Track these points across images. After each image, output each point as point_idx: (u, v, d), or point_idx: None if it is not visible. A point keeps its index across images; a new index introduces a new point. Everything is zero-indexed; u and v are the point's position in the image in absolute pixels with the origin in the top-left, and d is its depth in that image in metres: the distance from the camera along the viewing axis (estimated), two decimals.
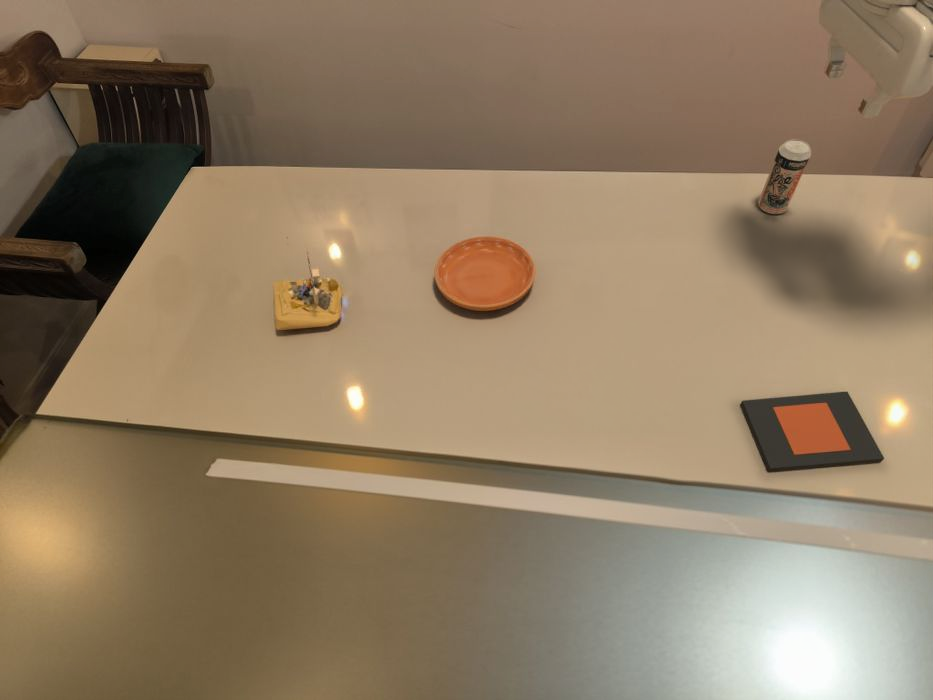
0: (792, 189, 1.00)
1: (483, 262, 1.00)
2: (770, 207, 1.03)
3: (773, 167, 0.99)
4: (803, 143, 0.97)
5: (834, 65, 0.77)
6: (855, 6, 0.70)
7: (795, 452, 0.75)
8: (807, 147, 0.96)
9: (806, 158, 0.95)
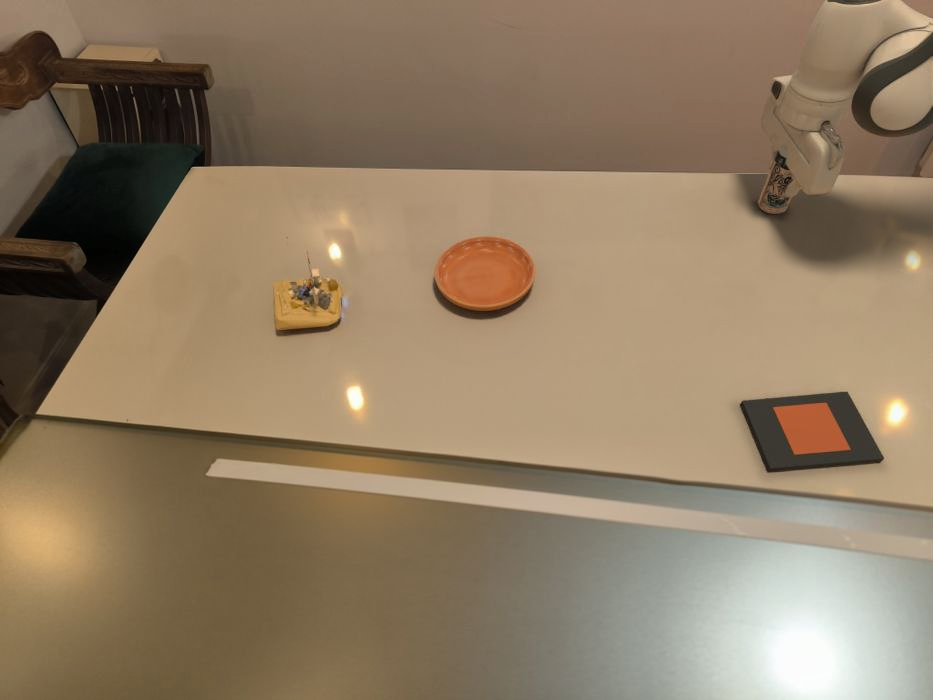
0: None
1: (483, 262, 1.00)
2: (769, 207, 1.03)
3: (773, 167, 0.99)
4: None
5: None
6: (783, 122, 0.96)
7: (795, 452, 0.75)
8: None
9: None
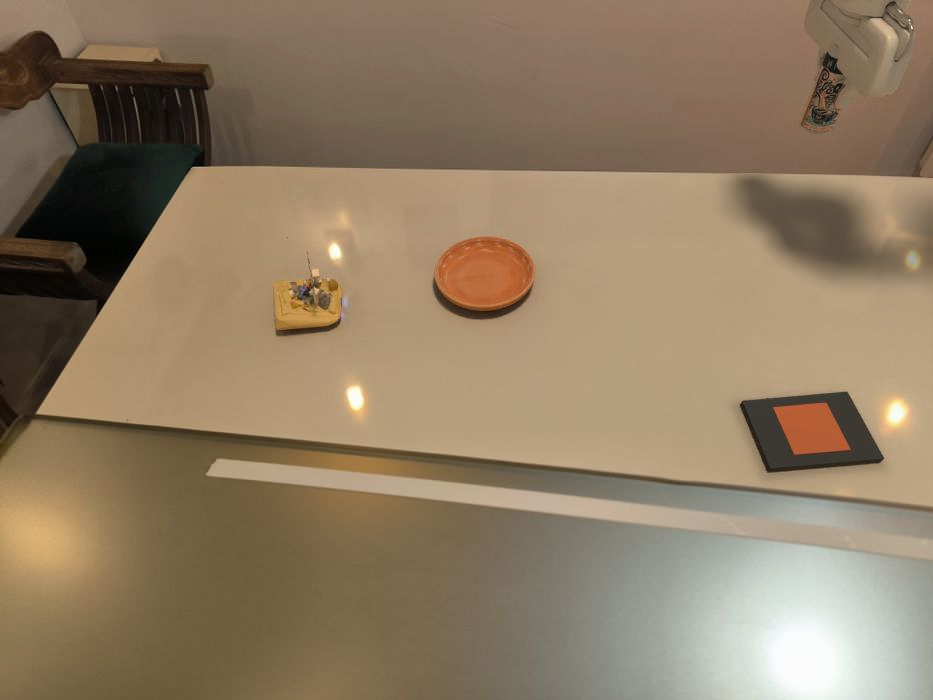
0: None
1: (483, 262, 1.00)
2: (814, 125, 0.87)
3: (820, 74, 0.83)
4: None
5: None
6: (834, 17, 0.80)
7: (795, 452, 0.75)
8: None
9: None
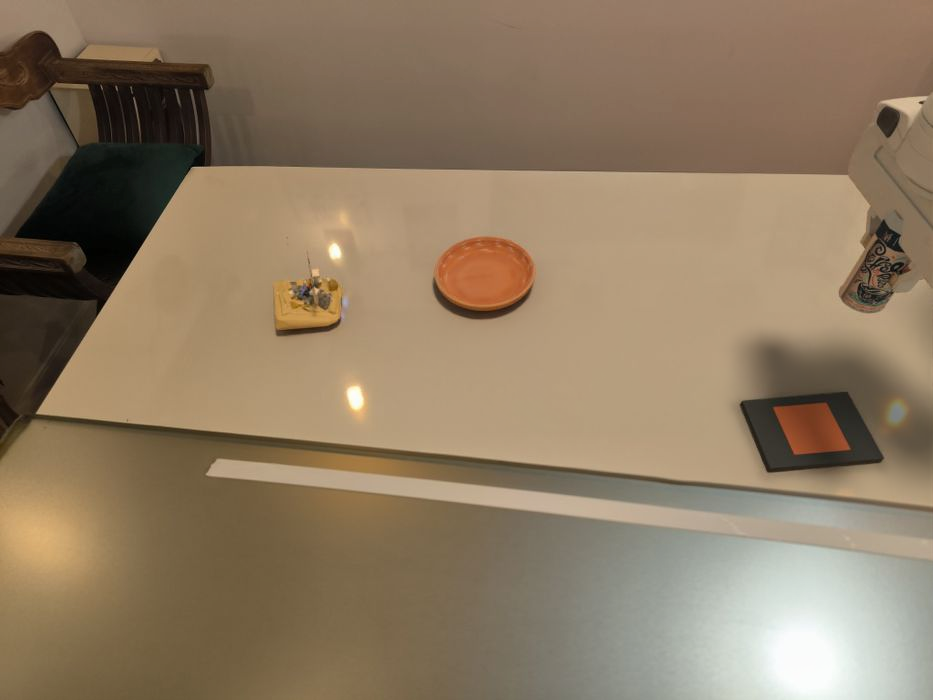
0: None
1: (483, 262, 1.00)
2: (860, 303, 0.65)
3: (872, 244, 0.61)
4: None
5: None
6: (895, 175, 0.58)
7: (795, 452, 0.75)
8: None
9: None
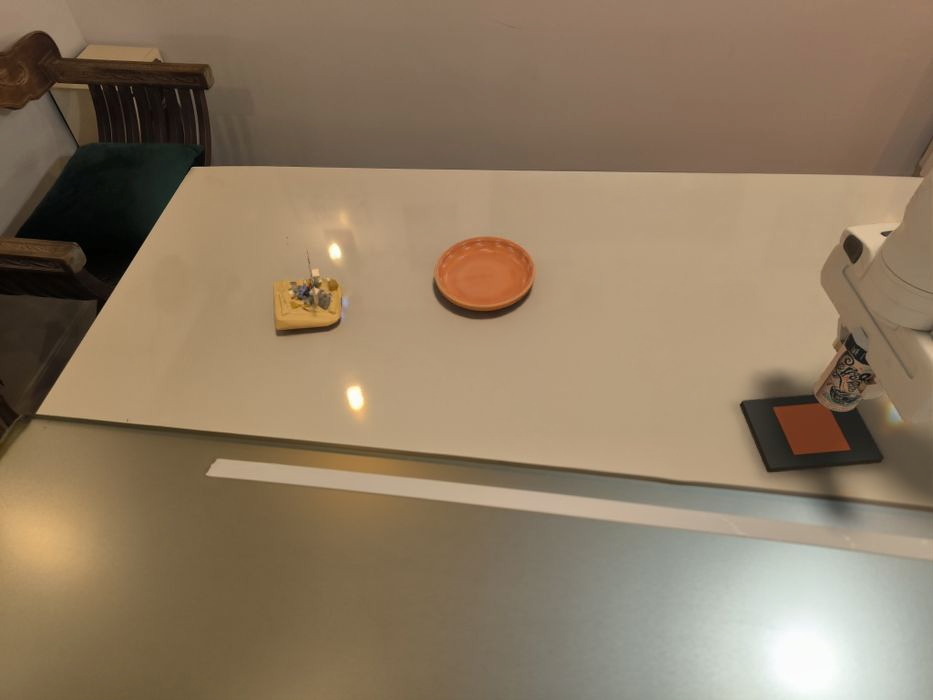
0: None
1: (483, 262, 1.00)
2: (833, 403, 0.69)
3: (842, 354, 0.66)
4: None
5: None
6: None
7: (795, 452, 0.75)
8: None
9: None
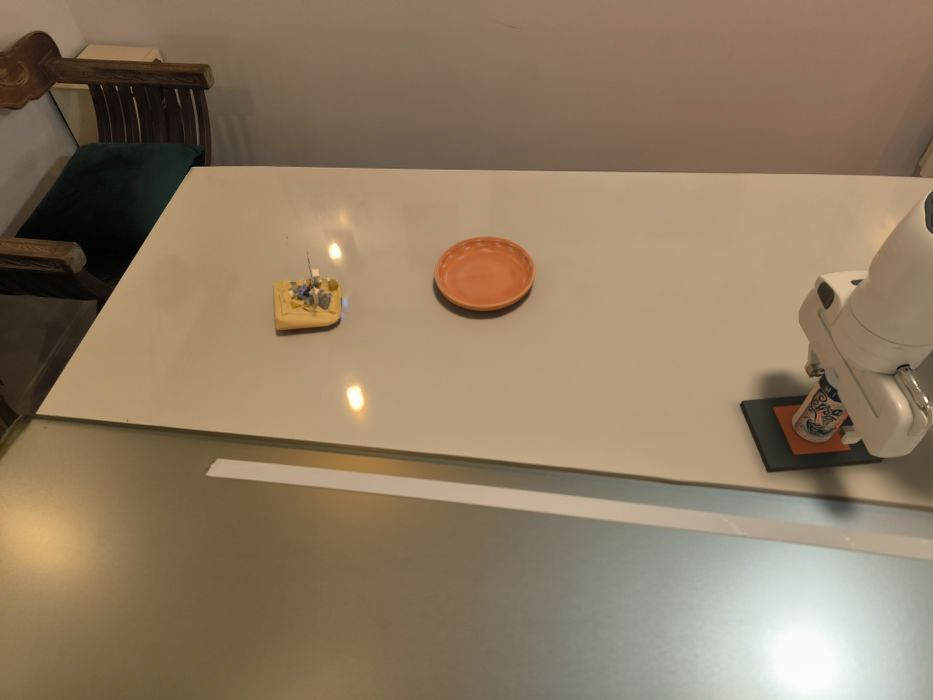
0: (842, 420, 0.72)
1: (483, 262, 1.00)
2: (809, 435, 0.75)
3: (816, 391, 0.71)
4: None
5: (814, 369, 0.74)
6: None
7: (795, 452, 0.75)
8: None
9: None
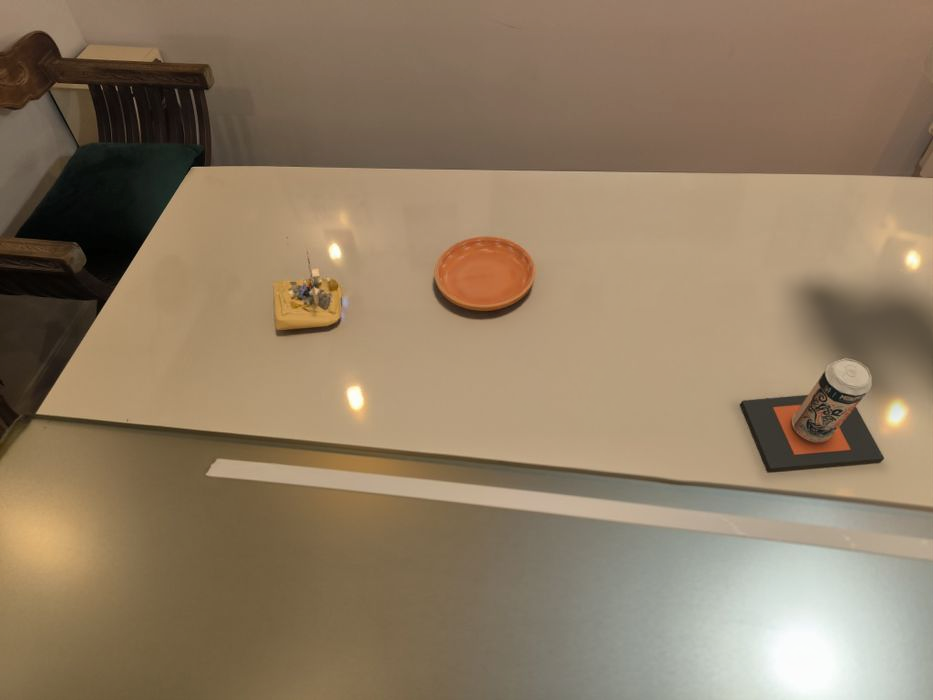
0: (842, 420, 0.72)
1: (483, 262, 1.00)
2: (809, 435, 0.75)
3: (816, 391, 0.71)
4: (860, 366, 0.68)
5: None
6: None
7: (795, 452, 0.75)
8: (866, 374, 0.68)
9: (865, 391, 0.67)
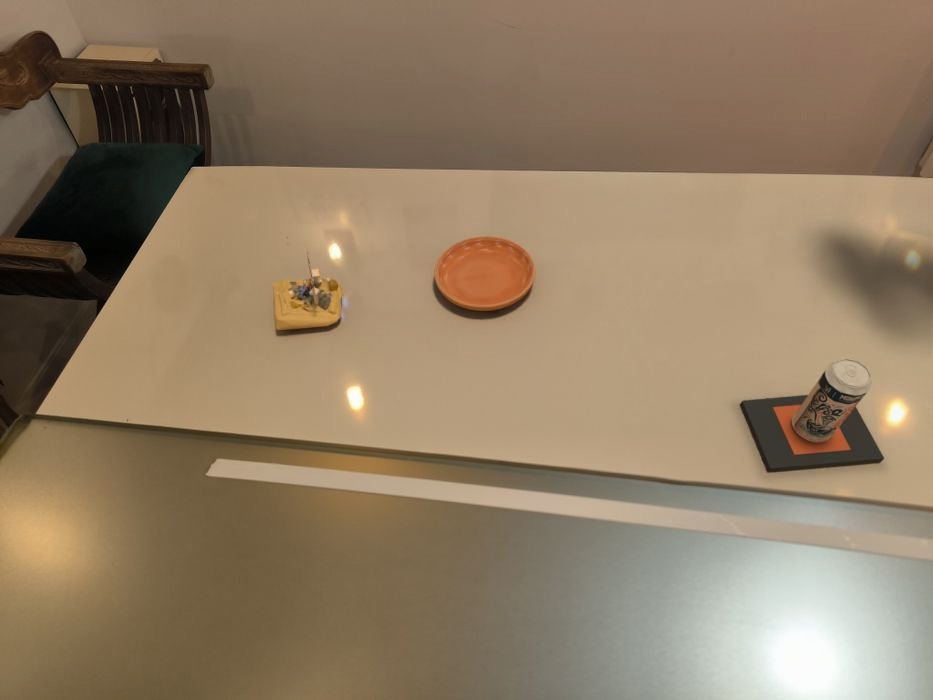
0: (842, 420, 0.72)
1: (483, 262, 1.00)
2: (809, 435, 0.75)
3: (816, 391, 0.71)
4: (860, 366, 0.68)
5: None
6: None
7: (795, 452, 0.75)
8: (866, 374, 0.68)
9: (865, 391, 0.67)
